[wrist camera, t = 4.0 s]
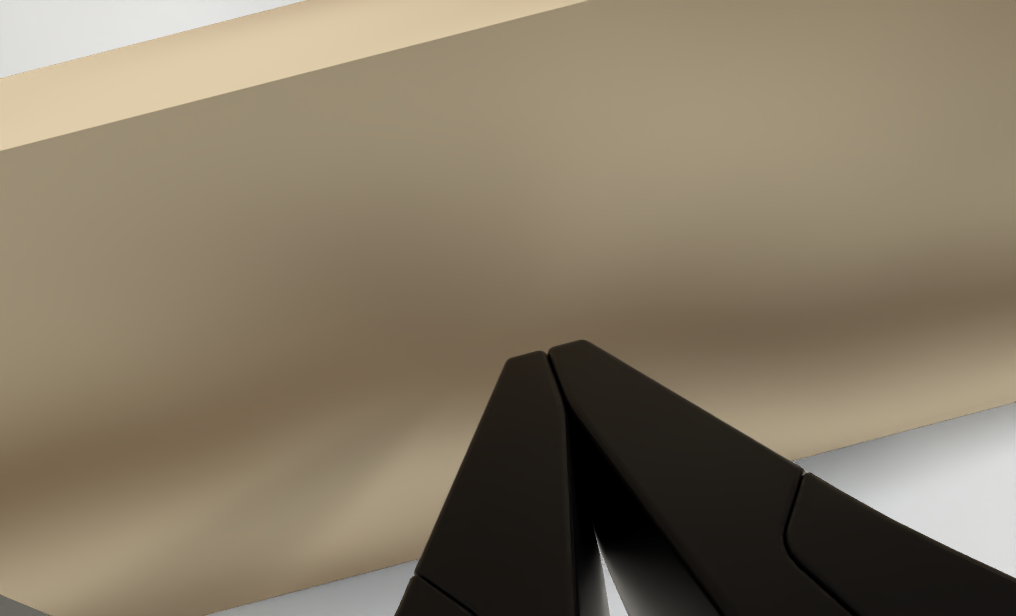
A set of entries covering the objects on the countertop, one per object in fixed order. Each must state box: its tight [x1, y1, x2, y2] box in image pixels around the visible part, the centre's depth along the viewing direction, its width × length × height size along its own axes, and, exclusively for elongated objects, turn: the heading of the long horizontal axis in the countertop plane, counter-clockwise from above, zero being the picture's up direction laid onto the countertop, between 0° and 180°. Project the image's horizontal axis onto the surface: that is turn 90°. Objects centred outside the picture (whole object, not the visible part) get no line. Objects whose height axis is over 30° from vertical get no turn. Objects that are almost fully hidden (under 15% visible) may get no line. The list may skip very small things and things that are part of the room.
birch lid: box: [0, 0, 1016, 616], centre depth 11 cm, size 10×16×1 cm
